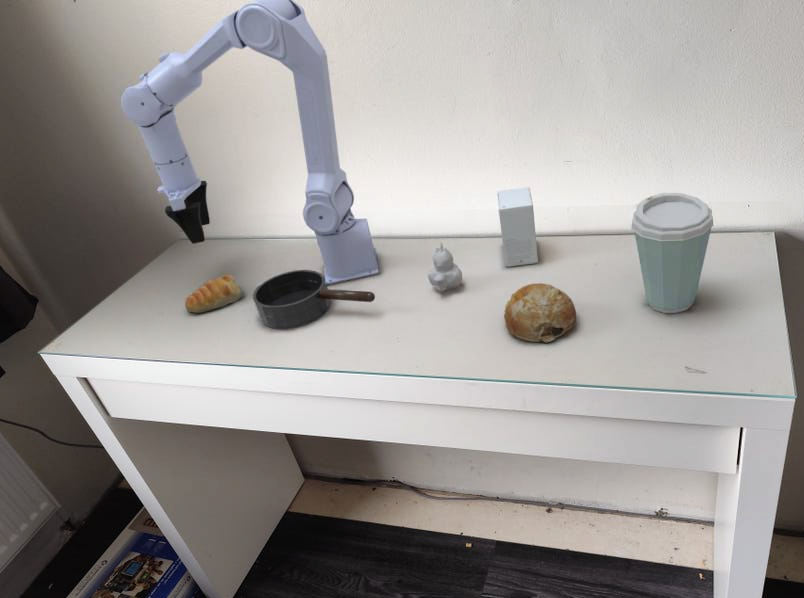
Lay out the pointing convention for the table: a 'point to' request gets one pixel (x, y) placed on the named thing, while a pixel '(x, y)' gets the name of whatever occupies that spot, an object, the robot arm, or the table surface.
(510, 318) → the bread roll
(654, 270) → the disposable coffee cup
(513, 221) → the small box
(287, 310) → the pan
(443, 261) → the grey figurine
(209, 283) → the pastry
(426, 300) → the table surface
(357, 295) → the pan handle
